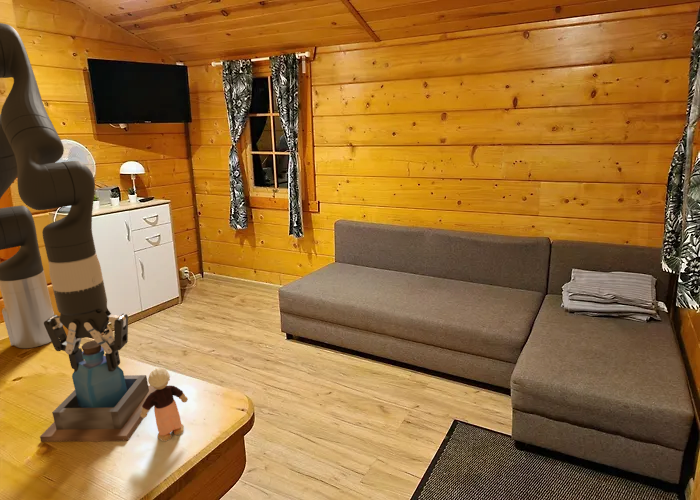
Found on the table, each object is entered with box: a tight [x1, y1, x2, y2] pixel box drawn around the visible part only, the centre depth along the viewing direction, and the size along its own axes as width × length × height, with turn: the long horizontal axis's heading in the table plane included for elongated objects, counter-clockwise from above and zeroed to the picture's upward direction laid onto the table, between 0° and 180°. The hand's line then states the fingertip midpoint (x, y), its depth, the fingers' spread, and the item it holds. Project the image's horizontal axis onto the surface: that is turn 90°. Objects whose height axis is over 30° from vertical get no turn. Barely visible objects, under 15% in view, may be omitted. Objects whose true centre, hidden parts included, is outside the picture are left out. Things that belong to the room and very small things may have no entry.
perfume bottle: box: [71, 340, 127, 408], centre depth 86 cm, size 6×6×12 cm
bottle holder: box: [39, 374, 157, 443], centre depth 88 cm, size 15×15×4 cm
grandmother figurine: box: [140, 367, 189, 442], centre depth 81 cm, size 8×4×13 cm, turn 141°
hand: (96, 369), depth 86 cm, fingers closed on perfume bottle, 5 cm apart
